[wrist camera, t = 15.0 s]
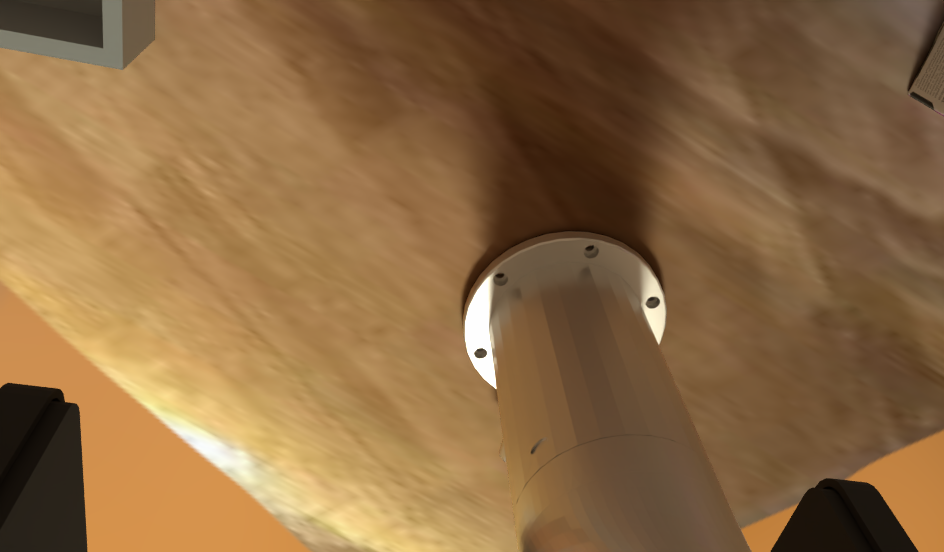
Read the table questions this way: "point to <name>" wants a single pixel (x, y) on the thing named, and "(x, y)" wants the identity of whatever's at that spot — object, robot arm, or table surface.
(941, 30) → the candy bar box
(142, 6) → the bin
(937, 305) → the table surface
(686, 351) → the table surface
